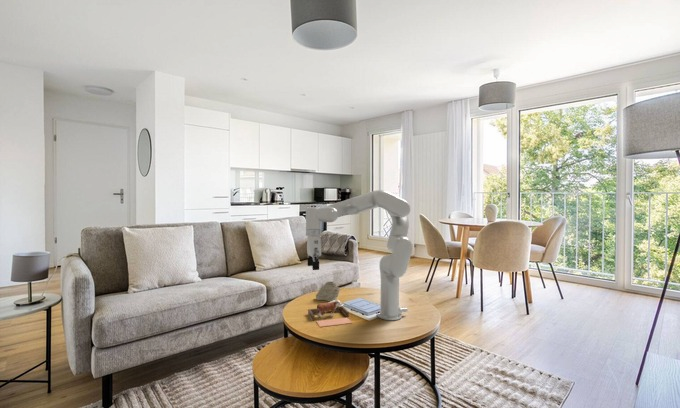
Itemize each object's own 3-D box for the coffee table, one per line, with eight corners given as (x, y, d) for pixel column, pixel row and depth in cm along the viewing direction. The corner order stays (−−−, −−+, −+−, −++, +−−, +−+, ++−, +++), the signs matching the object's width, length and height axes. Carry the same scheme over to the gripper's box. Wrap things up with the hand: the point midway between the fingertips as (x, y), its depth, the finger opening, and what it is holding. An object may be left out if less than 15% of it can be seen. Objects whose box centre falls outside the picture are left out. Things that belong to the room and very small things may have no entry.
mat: (347, 318, 162) (347, 317, 162) (351, 323, 156) (351, 322, 156) (316, 321, 157) (316, 321, 157) (319, 327, 151) (319, 326, 151)
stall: (342, 310, 174) (342, 305, 174) (348, 316, 164) (348, 312, 164) (308, 314, 168) (308, 309, 168) (312, 321, 158) (312, 316, 158)
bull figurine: (342, 316, 165) (342, 300, 165) (317, 319, 160) (317, 303, 160) (339, 313, 170) (339, 297, 169) (315, 316, 165) (315, 300, 164)
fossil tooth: (317, 299, 196) (341, 298, 194) (314, 302, 190) (339, 301, 187) (316, 280, 197) (340, 279, 194) (313, 282, 191) (338, 281, 188)
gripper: (326, 234, 149) (325, 271, 149) (316, 230, 165) (316, 263, 165) (310, 234, 146) (310, 272, 147) (302, 231, 163) (301, 264, 163)
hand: (313, 267), depth 156 cm, fingers open, 9 cm apart
